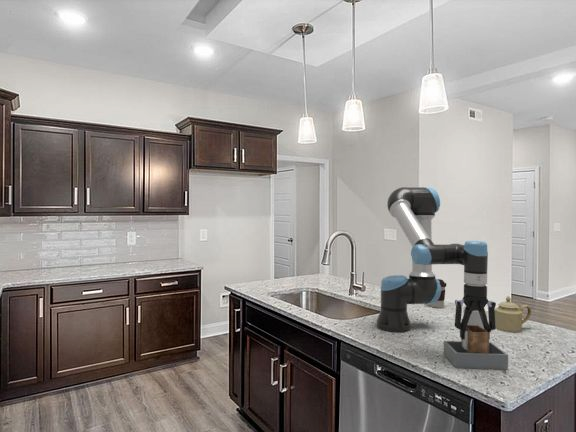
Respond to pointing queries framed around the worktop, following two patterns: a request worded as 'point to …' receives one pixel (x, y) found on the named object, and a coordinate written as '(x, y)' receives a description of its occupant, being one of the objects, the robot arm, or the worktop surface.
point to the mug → (475, 318)
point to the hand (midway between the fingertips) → (474, 348)
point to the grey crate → (475, 357)
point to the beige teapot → (510, 316)
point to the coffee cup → (442, 296)
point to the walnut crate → (477, 339)
